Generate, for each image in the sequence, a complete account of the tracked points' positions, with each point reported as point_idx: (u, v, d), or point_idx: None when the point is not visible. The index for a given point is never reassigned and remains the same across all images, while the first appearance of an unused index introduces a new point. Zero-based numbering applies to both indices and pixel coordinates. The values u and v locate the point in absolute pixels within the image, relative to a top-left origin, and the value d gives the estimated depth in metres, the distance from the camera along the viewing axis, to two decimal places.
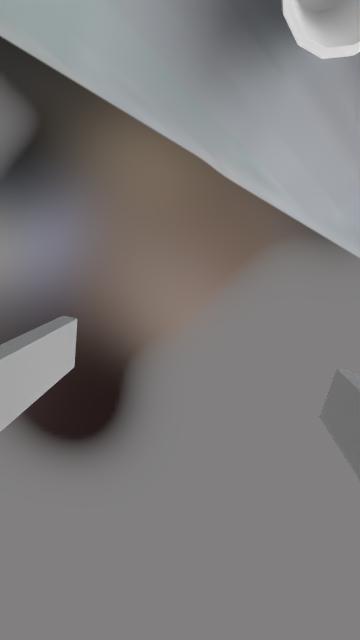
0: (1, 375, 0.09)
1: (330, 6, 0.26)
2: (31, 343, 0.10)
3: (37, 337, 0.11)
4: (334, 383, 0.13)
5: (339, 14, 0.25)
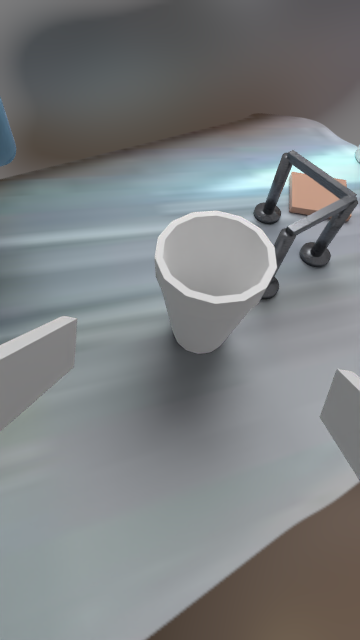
0: (1, 375, 0.09)
1: None
2: (31, 343, 0.10)
3: (37, 337, 0.11)
4: (334, 383, 0.13)
5: None
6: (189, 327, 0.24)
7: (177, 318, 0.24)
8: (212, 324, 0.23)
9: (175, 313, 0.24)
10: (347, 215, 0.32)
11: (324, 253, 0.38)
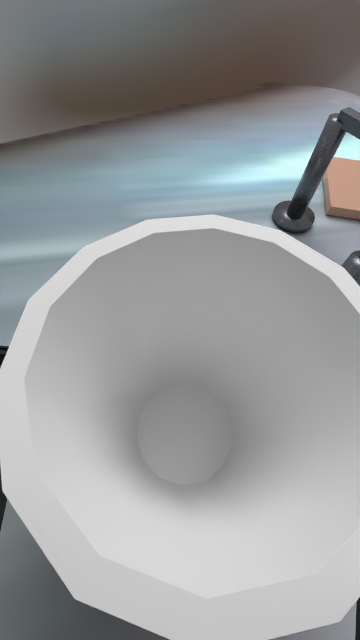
0: None
1: (228, 442, 0.17)
2: None
3: None
4: None
5: (251, 432, 0.14)
6: None
7: None
8: None
9: None
10: None
11: None
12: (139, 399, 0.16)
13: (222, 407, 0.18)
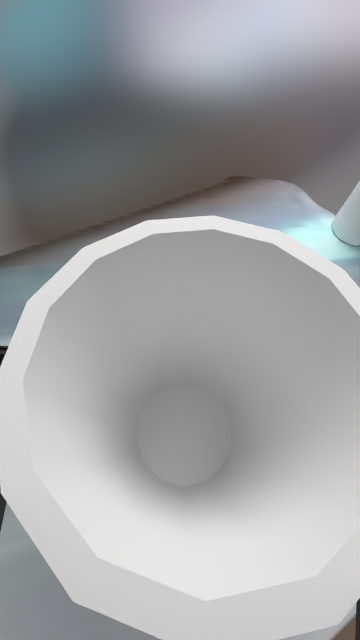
0: None
1: (228, 443, 0.17)
2: None
3: None
4: None
5: (250, 433, 0.14)
6: None
7: None
8: None
9: None
10: None
11: None
12: (139, 400, 0.16)
13: (222, 408, 0.18)
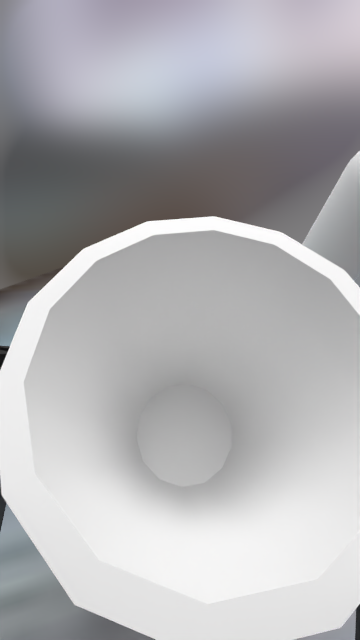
0: None
1: (228, 443, 0.17)
2: None
3: None
4: None
5: (251, 434, 0.14)
6: None
7: None
8: None
9: None
10: None
11: None
12: (139, 400, 0.16)
13: (222, 408, 0.18)
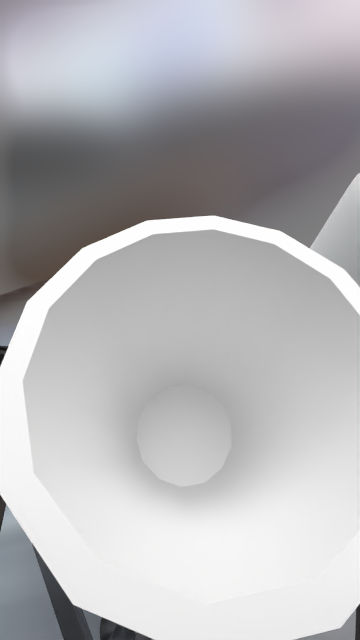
0: None
1: (228, 443, 0.17)
2: None
3: None
4: None
5: (251, 434, 0.14)
6: None
7: None
8: None
9: None
10: None
11: None
12: (139, 400, 0.16)
13: (222, 408, 0.18)
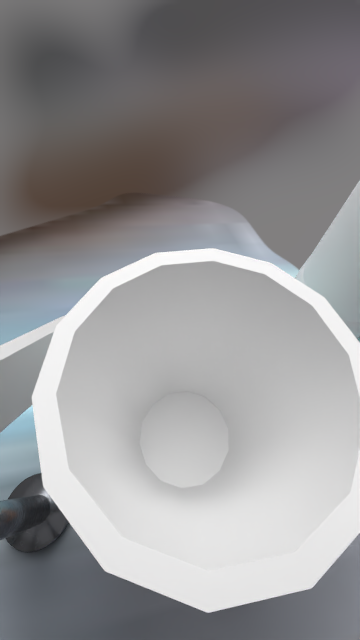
0: (2, 375, 0.09)
1: (225, 447, 0.18)
2: (32, 343, 0.10)
3: (38, 337, 0.11)
4: None
5: (246, 438, 0.15)
6: None
7: None
8: None
9: None
10: None
11: None
12: (142, 407, 0.17)
13: (220, 414, 0.19)
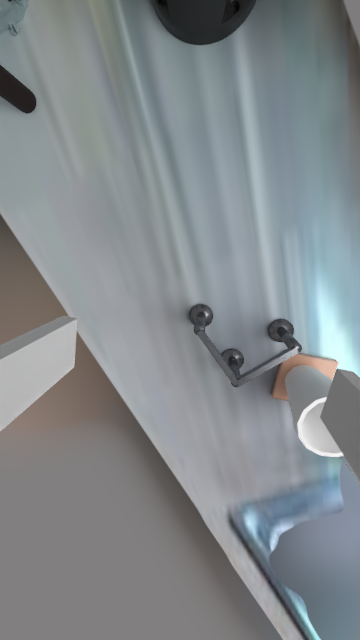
0: (1, 375, 0.09)
1: None
2: (31, 343, 0.10)
3: (37, 337, 0.11)
4: (334, 383, 0.13)
5: None
6: (294, 393, 0.42)
7: (300, 387, 0.41)
8: (292, 409, 0.40)
9: (302, 388, 0.40)
10: None
11: None
12: None
13: None
